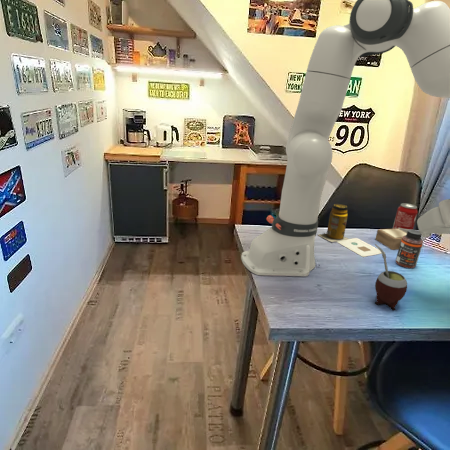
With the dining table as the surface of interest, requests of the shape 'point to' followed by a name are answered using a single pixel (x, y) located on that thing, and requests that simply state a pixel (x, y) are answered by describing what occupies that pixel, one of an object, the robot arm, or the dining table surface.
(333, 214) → the condiment
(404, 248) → the supplement bottle
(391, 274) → the mate gourd
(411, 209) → the soda can
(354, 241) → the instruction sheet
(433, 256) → the dining table surface
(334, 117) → the robot arm
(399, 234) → the pedestal
